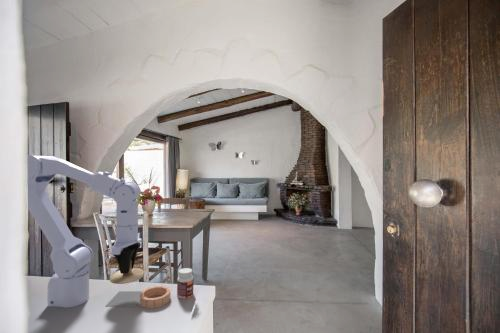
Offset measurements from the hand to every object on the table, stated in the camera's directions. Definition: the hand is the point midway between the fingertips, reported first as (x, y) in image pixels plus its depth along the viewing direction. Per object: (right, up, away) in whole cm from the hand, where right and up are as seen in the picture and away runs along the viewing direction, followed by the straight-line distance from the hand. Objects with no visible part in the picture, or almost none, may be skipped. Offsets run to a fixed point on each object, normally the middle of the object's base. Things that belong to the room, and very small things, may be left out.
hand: (126, 270), depth 78 cm
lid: (0, -2, 0) cm, 2 cm away
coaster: (0, -9, 0) cm, 9 cm away
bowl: (+9, -9, -1) cm, 13 cm away
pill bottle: (+16, -10, +3) cm, 19 cm away
